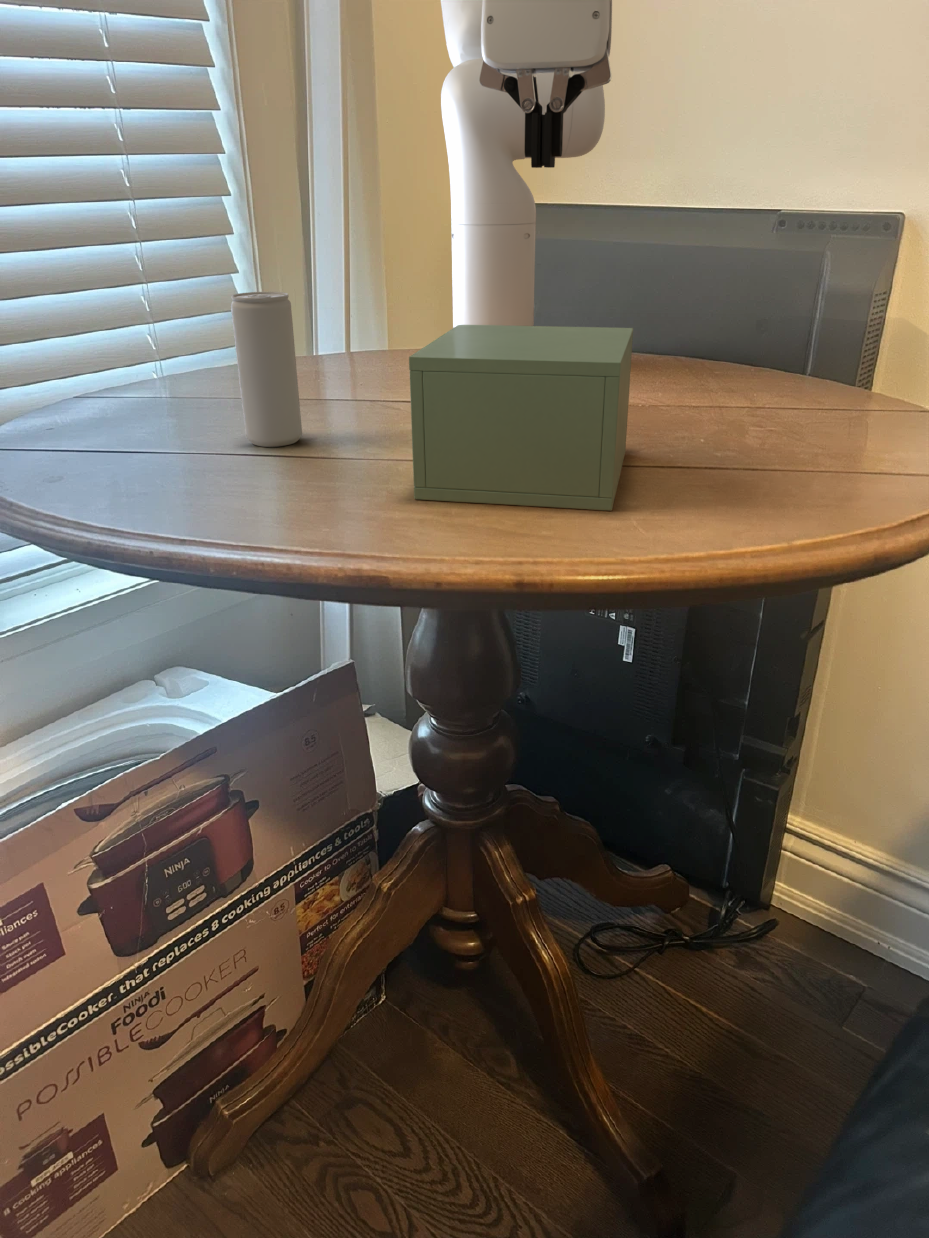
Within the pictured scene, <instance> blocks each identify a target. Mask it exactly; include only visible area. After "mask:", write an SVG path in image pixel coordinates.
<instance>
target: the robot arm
mask: <svg viewBox="0 0 929 1238" xmlns="http://www.w3.org/2000/svg"><path fill="white" fill-rule="evenodd" d="M440 7H441V15H442V23H443V29H444V38H445V44H446V49H447V53H448V57H449V60H450V63H451V65H452V67H453V68H451V69H450V71H449V72H448V73H447V75H446V76H445V78H444V80H443V83H442V86H441V91H440V110H441V118H442V125H443V132H444V140H445V146H446V152H447V153H446V154H447V161H448V172H449V186H450V189H449V190H450V215H451V217H450V221H451V227H450V228H451V280H452V281H451V282H452V284H451V286H452V329H453V328H454V327H456V326H457V325H504V326H535V325H534V323H535V318H534V317H535V280H536V279H535V275H536V274H535V273H536V229H537V226H536V224H537V222H536V221H537V209H536V208H537V207H536V201H535V197H534V195H533V193H532V191H531V189H530V187H529V185H528V184H527V183H526V181H525V180H524V179H523V177H522V176H521V175H520V173H519V172H518V170H517V169H516V167H515V166H514V163H513V162H514V161H519V160H525V159H530V166H531V168H532V169H541V168H543V167H544V168H545V169H547V168H550V169H551V168H555V166H556V159H571V158H578V157H582V156H585V155H587V154H589V153H590V152H592V151H593V150H594V148H595V147H596V146H597V145H598V143H599V142H600V139H601V137H602V135H603V130H604V125H605V120H606V119H605V117H606V101H605V90H604V85H607V84H609V83H610V82H611V81H612V77H613V75H612V68H611V64H610V63H611V62H610V55H611V47H612V33H613V32H612V31H613V30H612V29H613V0H440Z"/></svg>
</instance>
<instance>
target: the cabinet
mask: <svg viewBox="0 0 929 1238" xmlns="http://www.w3.org/2000/svg"><path fill="white" fill-rule="evenodd" d="M633 340H634V327H603V326H601V327H600V326H599V327H597V326H554V325H553V326H549V325H534V326H504V325H457V326H456V327H454V328H453V327H452V328H451V329H449V330H448V331H446V332H445V333H443V334H442V335H440V336H439V337H437V338H436V339H434V340H433V341H431V342H429V343H427V344H426V345H425V346H423V347H422V348H420V349H419V350H417V351H416V352H415V353H413V354H411V355H410V356H409V357H408V368H409V369H408V371H409V393H410V394H409V395H410V419H411V420H410V421H411V423H410V424H411V449H412V451H411V452H412V475H413V476H412V477H413V499H414V500H419V501H421V500H422V501H435V502H454V503H455V502H456V503H470V504H471V503H472V504H489V505H507V506H521V507H522V506H523V507H539V508H557V509H573V510H574V509H575V510H589V511H591V510H592V511H607V512H608V511H609V512H611V511H612V510H613V507H614V502H615V499H616V494H617V489H618V486H619V482H620V477H621V473H622V469H623V464H624V459H625V456H626V448H627V447H626V446H627V434H628V433H627V432H628V418H629V402H630V386H631V372H632V371H631V370H632V357H633V356H632V354H633Z"/></svg>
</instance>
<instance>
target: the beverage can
mask: <svg viewBox="0 0 929 1238" xmlns="http://www.w3.org/2000/svg"><path fill="white" fill-rule="evenodd" d="M231 300H232V302H231V303H230V311H231V320H232V329H233V336H234V346H235V356H236V363H237V364H236V365H237V374H238V381H239V389H240V398H241V399H240V400H241V406H242V414H243V424H244V431H245V432H244V433H245V438H246V439H247V440H248V441H249V442H250V443H251V444H252V445H255V446H257V447H264V448H276V447H284V446H290V445H293V444H295V443H297V442H298V441H299V440H300V438H301V437H302V435H303V428H302V416H301V403H300V392H299V382H298V381H299V380H298V368H297V358H296V357H297V356H296V348H295V346H296V345H295V335H294V323H293V313H292V311H293V310H292V303H291V301H290V300H289V293H288V292H284V291H283V292H282V291H250V292H241V293H235V294H232V295H231Z"/></svg>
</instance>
